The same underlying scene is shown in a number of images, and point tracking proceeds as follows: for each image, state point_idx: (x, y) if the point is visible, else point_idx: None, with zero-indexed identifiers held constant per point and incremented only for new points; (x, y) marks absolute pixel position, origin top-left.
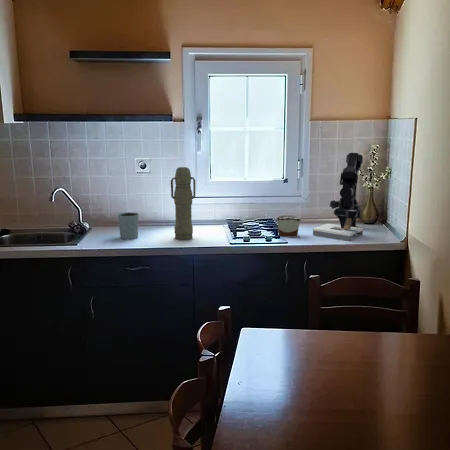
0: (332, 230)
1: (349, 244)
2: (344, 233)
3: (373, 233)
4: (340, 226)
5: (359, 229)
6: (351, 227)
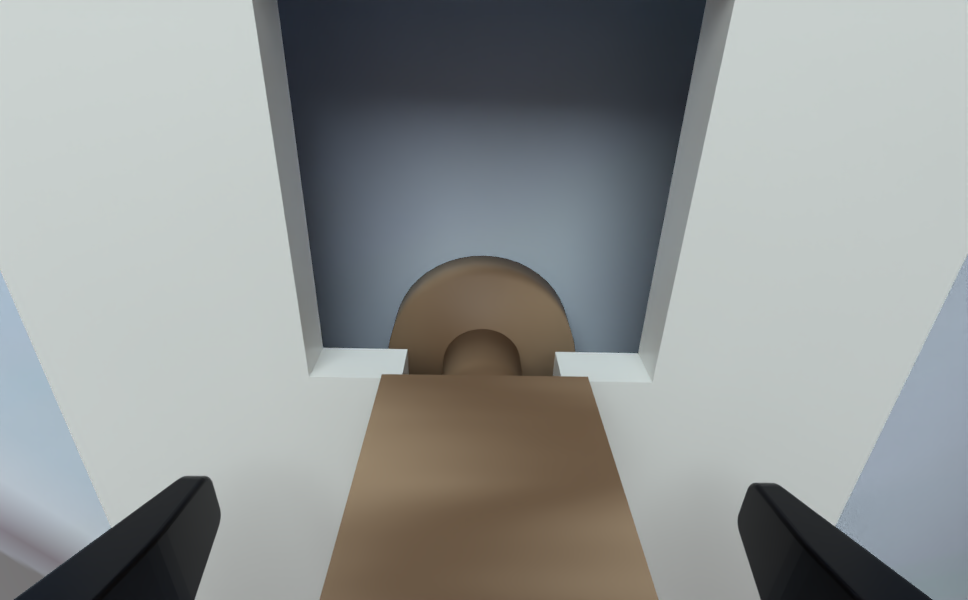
0: (101, 188)
1: (32, 549)
2: (114, 516)
3: (924, 558)
4: (841, 147)
5: (660, 596)
6: (806, 432)
